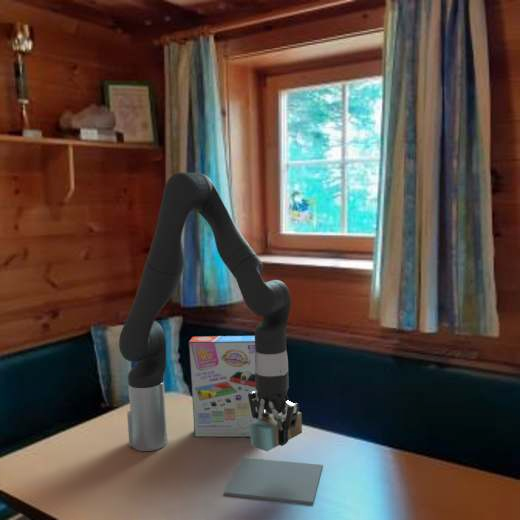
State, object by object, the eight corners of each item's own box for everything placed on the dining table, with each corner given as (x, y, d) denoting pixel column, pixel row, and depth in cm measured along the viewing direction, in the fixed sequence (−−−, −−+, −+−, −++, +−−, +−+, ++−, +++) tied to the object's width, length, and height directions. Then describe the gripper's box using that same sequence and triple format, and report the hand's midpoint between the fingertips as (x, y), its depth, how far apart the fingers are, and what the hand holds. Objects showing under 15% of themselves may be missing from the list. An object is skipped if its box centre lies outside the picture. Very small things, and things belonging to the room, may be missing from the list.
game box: (270, 429, 156) (267, 335, 152) (268, 438, 150) (265, 340, 147) (197, 428, 158) (192, 335, 154) (193, 437, 152) (188, 341, 149)
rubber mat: (223, 494, 124) (223, 492, 123) (242, 459, 139) (242, 457, 139) (313, 504, 119) (313, 501, 119) (322, 467, 134) (322, 464, 134)
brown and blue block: (301, 412, 130) (266, 430, 122) (301, 432, 131) (267, 451, 122) (285, 407, 133) (250, 424, 125) (285, 427, 134) (251, 445, 126)
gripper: (237, 367, 127) (240, 437, 130) (284, 380, 118) (286, 456, 120) (260, 359, 133) (262, 426, 135) (306, 371, 123) (308, 444, 125)
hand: (274, 440), depth 127 cm, fingers closed on brown and blue block, 5 cm apart
